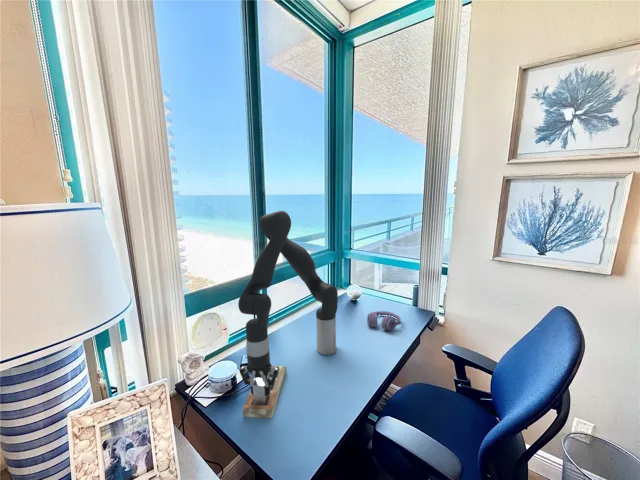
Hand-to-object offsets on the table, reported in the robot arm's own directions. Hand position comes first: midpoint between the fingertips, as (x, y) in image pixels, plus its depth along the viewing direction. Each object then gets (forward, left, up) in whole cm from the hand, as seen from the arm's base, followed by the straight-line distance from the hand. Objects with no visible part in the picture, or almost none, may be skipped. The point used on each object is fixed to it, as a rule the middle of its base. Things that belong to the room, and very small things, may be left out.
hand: (260, 393), depth 91 cm
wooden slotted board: (0, -7, -5) cm, 9 cm away
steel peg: (0, 0, -4) cm, 4 cm away
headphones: (-53, -63, -6) cm, 83 cm away
